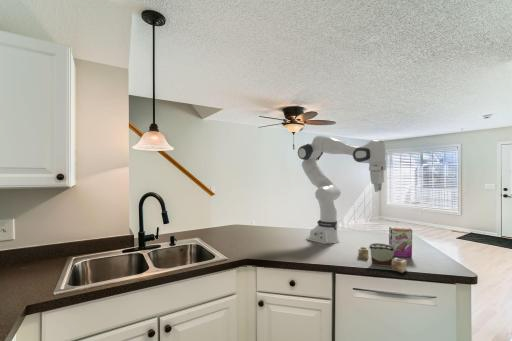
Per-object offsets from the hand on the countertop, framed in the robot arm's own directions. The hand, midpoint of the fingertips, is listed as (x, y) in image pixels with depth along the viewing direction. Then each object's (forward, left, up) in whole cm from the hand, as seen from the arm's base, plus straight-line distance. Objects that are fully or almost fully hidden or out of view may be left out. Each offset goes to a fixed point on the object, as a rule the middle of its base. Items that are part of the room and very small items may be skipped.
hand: (378, 191), depth 147 cm
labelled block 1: (-6, -8, -38) cm, 39 cm away
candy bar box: (+11, +6, -38) cm, 40 cm away
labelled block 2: (+13, -17, -38) cm, 44 cm away
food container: (+4, -13, -38) cm, 40 cm away
